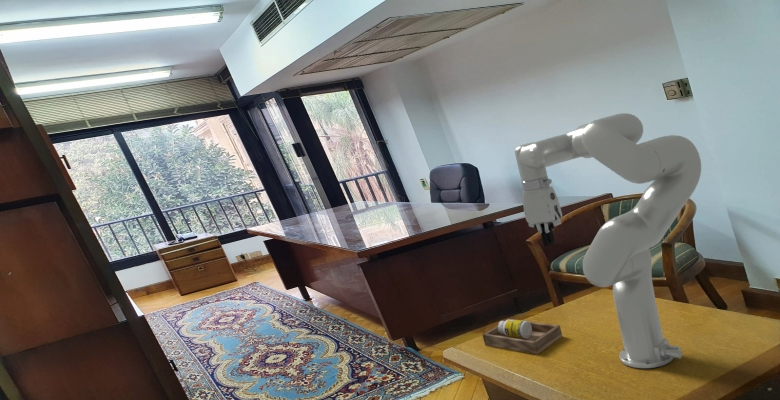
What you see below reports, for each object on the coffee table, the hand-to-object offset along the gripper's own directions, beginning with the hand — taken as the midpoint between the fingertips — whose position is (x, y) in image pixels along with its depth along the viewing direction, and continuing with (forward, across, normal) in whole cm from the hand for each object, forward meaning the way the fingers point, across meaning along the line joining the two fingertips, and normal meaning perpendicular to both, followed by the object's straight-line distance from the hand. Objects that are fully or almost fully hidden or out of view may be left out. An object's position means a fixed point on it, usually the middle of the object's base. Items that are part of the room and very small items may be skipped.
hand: (549, 244), depth 157 cm
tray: (+29, +12, +7) cm, 32 cm away
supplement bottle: (+25, +10, +7) cm, 28 cm away
